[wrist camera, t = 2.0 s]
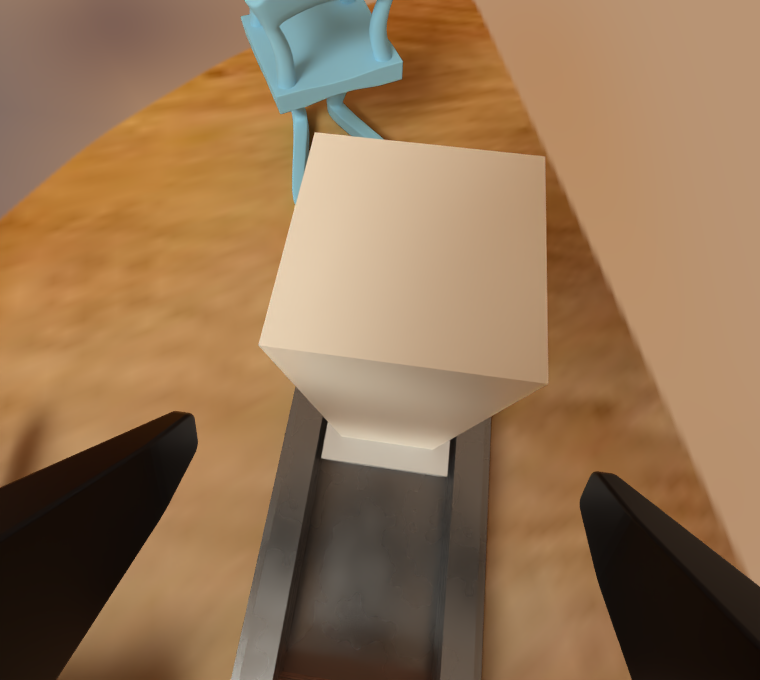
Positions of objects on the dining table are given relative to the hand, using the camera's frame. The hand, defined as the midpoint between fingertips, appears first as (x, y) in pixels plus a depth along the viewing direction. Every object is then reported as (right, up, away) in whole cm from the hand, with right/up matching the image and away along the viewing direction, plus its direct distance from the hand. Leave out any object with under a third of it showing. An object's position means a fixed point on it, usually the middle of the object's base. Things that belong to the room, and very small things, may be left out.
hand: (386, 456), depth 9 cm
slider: (0, -1, +11) cm, 11 cm away
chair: (-3, +15, +17) cm, 23 cm away
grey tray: (0, -5, +10) cm, 11 cm away
